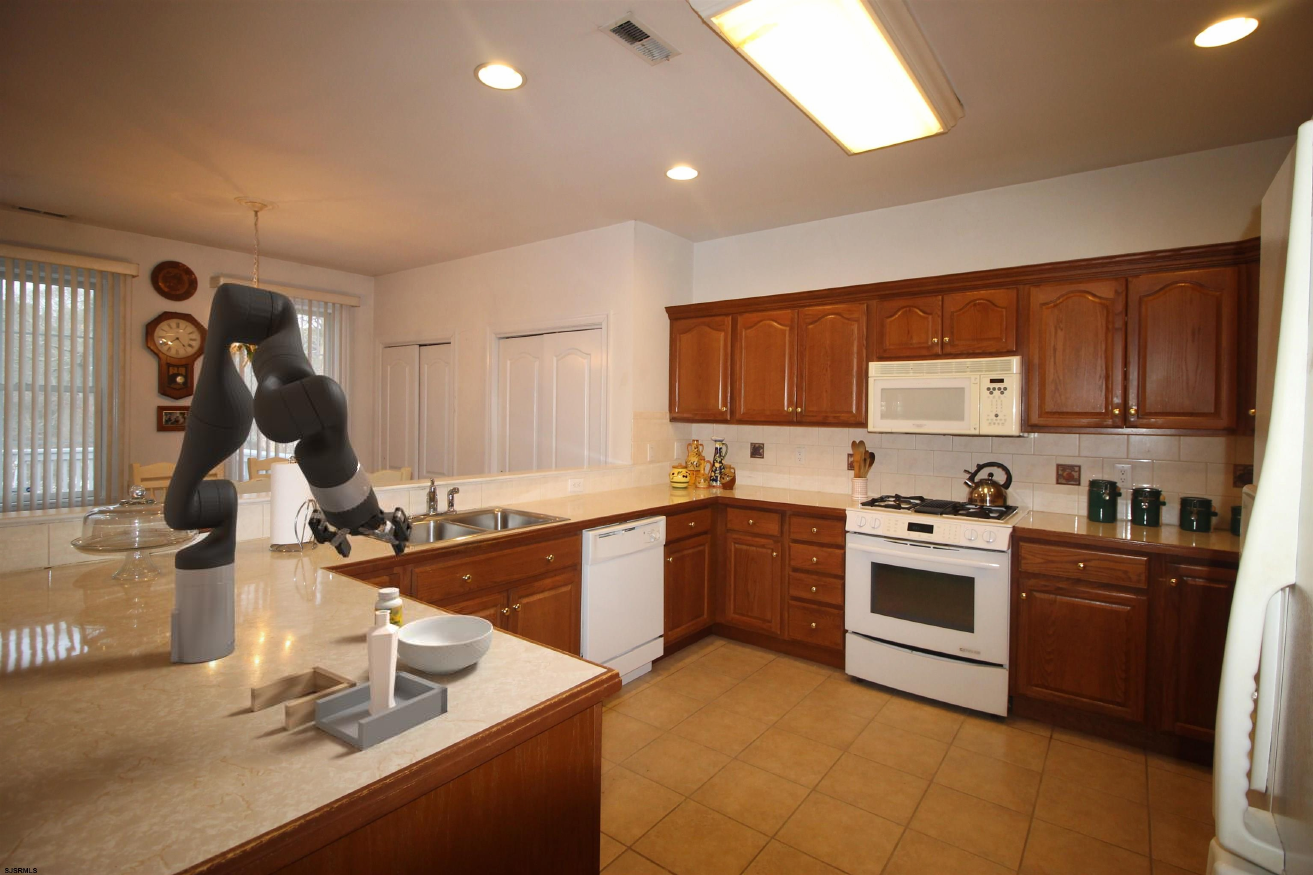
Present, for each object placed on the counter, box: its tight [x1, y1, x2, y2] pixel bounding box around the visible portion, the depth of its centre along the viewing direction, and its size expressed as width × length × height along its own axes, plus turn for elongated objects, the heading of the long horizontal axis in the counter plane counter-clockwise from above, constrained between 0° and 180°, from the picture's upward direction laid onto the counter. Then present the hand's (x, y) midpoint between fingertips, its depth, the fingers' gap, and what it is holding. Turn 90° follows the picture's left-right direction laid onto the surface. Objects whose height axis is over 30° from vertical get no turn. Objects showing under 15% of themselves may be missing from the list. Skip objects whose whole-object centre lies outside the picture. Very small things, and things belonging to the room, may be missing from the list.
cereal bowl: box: [397, 614, 494, 675], centre depth 115 cm, size 17×17×7 cm
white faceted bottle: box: [365, 610, 399, 715], centre depth 94 cm, size 5×4×15 cm
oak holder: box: [250, 665, 358, 731], centre depth 98 cm, size 10×11×4 cm
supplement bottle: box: [374, 587, 404, 629], centre depth 130 cm, size 5×5×10 cm
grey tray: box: [314, 669, 448, 751], centre depth 94 cm, size 14×12×4 cm
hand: (374, 552), depth 104 cm, fingers open, 8 cm apart
